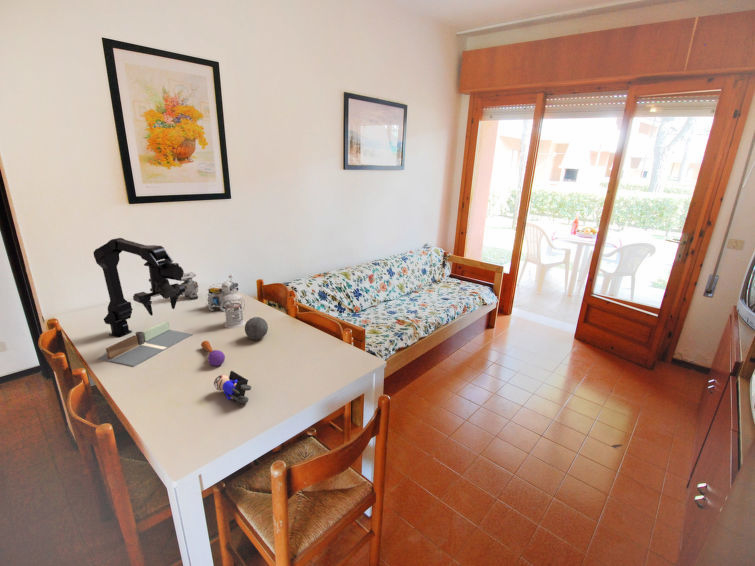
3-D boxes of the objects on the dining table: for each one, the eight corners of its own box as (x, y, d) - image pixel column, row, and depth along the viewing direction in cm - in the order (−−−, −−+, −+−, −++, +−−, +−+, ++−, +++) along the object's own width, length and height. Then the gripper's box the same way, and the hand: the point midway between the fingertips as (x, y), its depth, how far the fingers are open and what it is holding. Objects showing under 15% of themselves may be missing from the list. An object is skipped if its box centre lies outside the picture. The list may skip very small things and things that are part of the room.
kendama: (213, 337, 157) (227, 352, 142) (212, 350, 158) (226, 367, 143) (198, 338, 154) (211, 353, 138) (197, 351, 154) (209, 369, 139)
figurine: (174, 298, 211) (170, 273, 206) (195, 294, 219) (192, 269, 214) (180, 302, 205) (176, 276, 200) (201, 298, 213) (198, 273, 208)
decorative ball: (240, 339, 164) (238, 319, 161) (257, 331, 173) (255, 312, 170) (257, 345, 160) (255, 324, 157) (273, 336, 168) (272, 316, 166)
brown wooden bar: (106, 358, 144) (104, 346, 142) (141, 341, 158) (139, 331, 157) (111, 359, 143) (109, 348, 142) (145, 342, 158) (144, 332, 156)
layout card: (97, 358, 144) (97, 357, 144) (160, 328, 172) (160, 328, 172) (133, 366, 140) (133, 365, 140) (192, 334, 167) (192, 333, 167)
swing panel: (143, 340, 158) (141, 332, 157) (167, 329, 170) (166, 320, 169) (145, 341, 158) (144, 332, 157) (169, 329, 170) (168, 321, 169)
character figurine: (237, 411, 117) (213, 393, 126) (257, 399, 123) (232, 383, 131) (234, 391, 115) (209, 374, 123) (254, 380, 120) (228, 364, 129)
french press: (219, 325, 178) (214, 276, 171) (236, 317, 188) (232, 270, 181) (235, 329, 174) (231, 278, 167) (252, 320, 185) (248, 272, 177)
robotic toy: (235, 312, 194) (232, 285, 189) (202, 311, 194) (199, 284, 189) (243, 304, 206) (241, 278, 202) (212, 303, 206) (210, 277, 202)
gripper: (145, 286, 140) (150, 324, 144) (191, 275, 155) (194, 310, 160) (129, 280, 145) (135, 316, 150) (175, 270, 160) (179, 304, 165)
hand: (162, 312), depth 156 cm, fingers open, 9 cm apart
